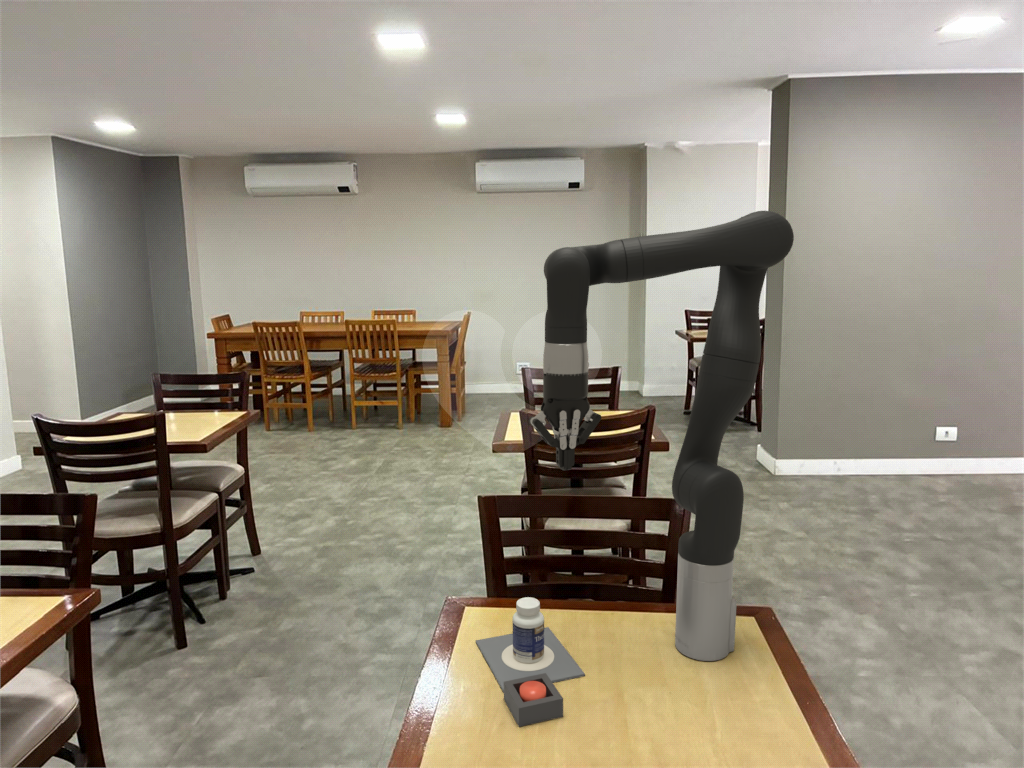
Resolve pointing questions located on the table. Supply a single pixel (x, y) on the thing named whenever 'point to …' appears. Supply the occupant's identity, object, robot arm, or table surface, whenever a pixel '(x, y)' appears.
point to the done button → (532, 691)
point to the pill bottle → (528, 631)
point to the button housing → (533, 701)
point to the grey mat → (508, 668)
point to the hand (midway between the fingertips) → (565, 468)
